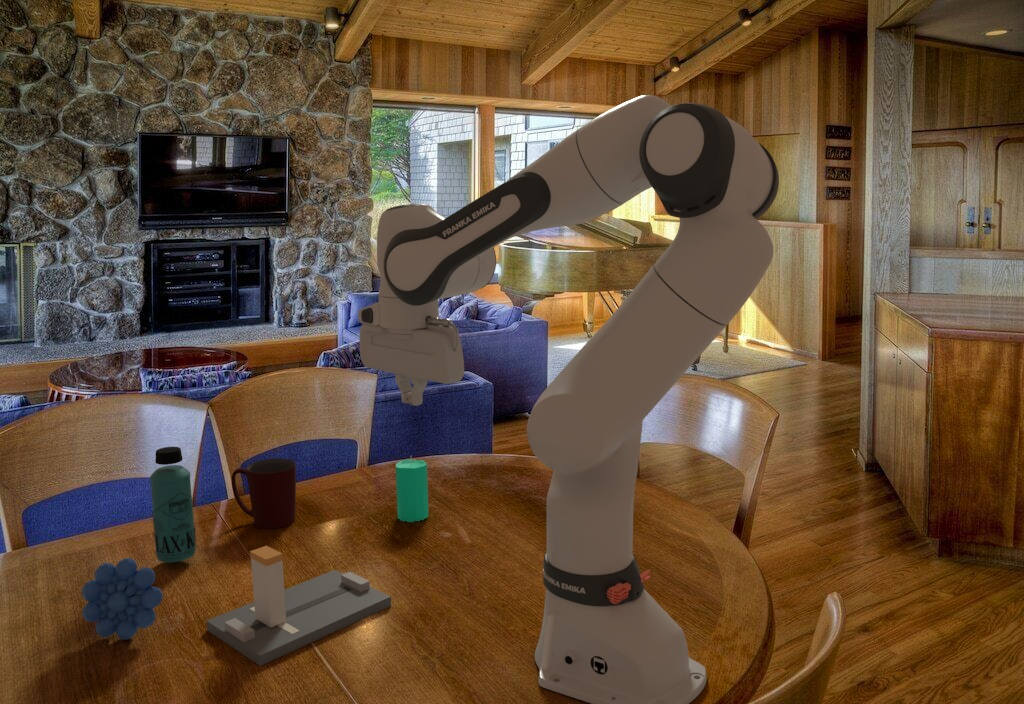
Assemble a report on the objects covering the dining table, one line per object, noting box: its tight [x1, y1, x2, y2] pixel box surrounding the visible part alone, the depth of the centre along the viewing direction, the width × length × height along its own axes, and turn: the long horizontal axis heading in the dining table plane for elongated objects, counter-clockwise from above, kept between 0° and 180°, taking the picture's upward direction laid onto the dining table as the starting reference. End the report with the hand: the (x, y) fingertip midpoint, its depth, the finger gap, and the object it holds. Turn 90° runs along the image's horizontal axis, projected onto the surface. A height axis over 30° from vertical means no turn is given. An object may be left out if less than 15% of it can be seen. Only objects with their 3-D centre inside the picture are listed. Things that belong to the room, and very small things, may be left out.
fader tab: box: [249, 545, 286, 628], centre depth 119 cm, size 4×3×10 cm, turn 48°
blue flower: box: [81, 557, 163, 641], centre depth 119 cm, size 12×7×12 cm, turn 86°
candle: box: [395, 456, 429, 523], centre depth 162 cm, size 6×6×12 cm
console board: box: [206, 569, 392, 667], centre depth 124 cm, size 14×22×3 cm, turn 138°
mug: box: [231, 457, 297, 530], centre depth 160 cm, size 12×9×11 cm
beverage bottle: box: [149, 446, 197, 563], centre depth 142 cm, size 6×7×20 cm
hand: (412, 403), depth 130 cm, fingers closed
